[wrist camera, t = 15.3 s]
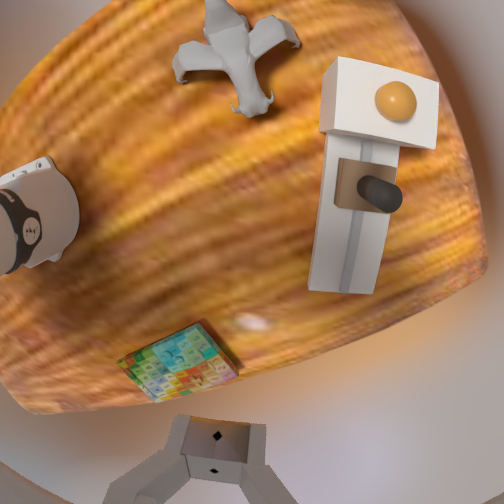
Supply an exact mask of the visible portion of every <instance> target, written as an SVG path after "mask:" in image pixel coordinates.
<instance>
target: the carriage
mask: <svg viewBox="0 0 504 504" xmlns="http://www.w3.org/2000/svg"><path fill="white" fill-rule="evenodd" d="M396 171H397V168H396V167H392V166H388V165H382V164H376V163H370V162H364V161H358V160H351V159H346V158H339V160H338V169H337V178H336V186H335V195H334V202H333V203H334V204H335V205H336V206H337V207H338V208H343V209H351V210H359V211H367V212H375V213H382V214H390V213H392V212H395V211H396V210H397V209H398V208H399V207H400V205H401V203H402V192H401V190H400V189H399V187H397V186H396V185H395V179H396Z"/></svg>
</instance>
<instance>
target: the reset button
mask: <svg viewBox="0 0 504 504" xmlns="http://www.w3.org/2000/svg"><path fill="white" fill-rule="evenodd" d="M375 105H376V108H377V110H378V111H379V113H380V114H381V115H382V116H383V117H385V118H387V119H389V120H393V121H396V120H405V119H408V118H410V117H412V116H413V114H414V113H415V111H416V108H417V100H416V96H415V94H414V92H413V91H412V89H411V88H410V87H409V86H408V85H406V84H405V83H403V82H399V81H392V82H389V83H387V84H385V85H383V86H381V87H380V88H378V90H377V91H376V94H375Z"/></svg>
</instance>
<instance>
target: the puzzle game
mask: <svg viewBox="0 0 504 504" xmlns="http://www.w3.org/2000/svg"><path fill="white" fill-rule="evenodd" d="M116 364H117V365H118V366H119V367H120V368H121V369H122V370H123V371H124V372H125V373H126V374H127V375H128V376H129V377H130V378H131V379H132V380H133V381H134V382H135V383H136V384H137V385H138V386H139V387H140V388H141V389H142V390H143V391H144V392H145V393H146V394H147V395H148V396H149V397H150V398H151V399H152V400H153V401H154V402H155V403H158V402H162V401H165V400H169V399H172V398H176V397H179V396H182V395H186V394H189V393H192V392H195V391H199V390H202V389H205V388H208V387H211V386H214V385H217V384H220V383H223V382H226V381H228V380H231V379H234V378H236V377H238V375H239V371H238V370H237V368H236V367H235V366H234V364H233V363H232V361H231V360H230V359H229V357H228V356H227V355H226V354H225V353H224V352H223V350H222V349H221V348H220V347H219V346H218V344H217V343H216V342H215V341H214V340H213V338H212V337H211V336H210V335H209V334H208V332H207V331H206V330H205V329H204V327H203V326H202V325H201V324H200V323H196V324H194V325H192V326H190V327H188V328H186V329H184V330H182V331H180V332H177V333H175V334H173V335H171V336H169V337H167V338H165V339H163V340H160V341H158V342H156V343H154V344H152V345H150V346H147V347H145V348H143V349H141V350H139V351H136V352H134V353H132V354H130V355H128V356H126V357H123V358H121V359H120V360H118V362H117V363H116Z"/></svg>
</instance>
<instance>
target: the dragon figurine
mask: <svg viewBox="0 0 504 504" xmlns="http://www.w3.org/2000/svg"><path fill="white" fill-rule="evenodd" d="M205 9H206V12H205V27H204V29H203V33H204V36H205V39H206V40H207V41H208V44H209V45H204V44H201V43H199V42H196V41H191V42H188V43H185V44H182V45H180V48H179V50H178V52H177V53H176V54H175V56H174V59H173V64H172V66H173V69H174V71H175V74H176V78H177V79H176V81H177V82H179V83H181V85H182V84H183V82H187V81H188V80H181V78H182V77H183V75H184V74H185V73H186V71H192V70H222V71H225V72H226V73H227V74H228V75H229V77H230V78H231V80H232V82H233V84H234V86H235V90H236V93H237V96H238V103H239V106H238V109H234V108H233V106H232V105H231V107H232V110H233V111H234V112H235V113H241V114H243V115H245V116H246V117H247V118H250V117H253V116H256V115H259V114H264V113H266V112H267V111H268V107H269V104H271V103H272V102H273V101H274V96H273V93H272V91H271V93H272V97H271V99H269V98H267V97H266V96H265V94H264V92H263V91H262V90H261V88H260V85H259V82H258V80H257V78H256V72H255V61H256V60H257V59H258V58H259V57H260V56H262V55H263V54H264V53H266V52H267V51H268V50H270V49H271V48H272V47H274V46H276V45H277V44H279V43H280V42H282V41H284V40H287V41H291V42H294V43H296V44H295V45H294V46H292V48H295V47H297V48H299V45H300V42H301V41H300V40H298V38H297V36H296V34H295V31H294V28H293V26H292V25H291V24H290V23H288V22H287V21H285V20H282V19H278V18H276V17H275V16H273V15H272V16H269V17H266V18H263V19H260V20H258V22H257V23H256V25H255V27H254V29H253V30H252V31H250V29H249V23H248V21H247V20H246V17H245V16H243V15H240V14H239V13H238V12H237V11H236V10H235V9H234V8H233V7H232V6H231V5H230V4H229V3H228V2H227V1H226V0H205ZM230 104H231V103H230Z"/></svg>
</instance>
